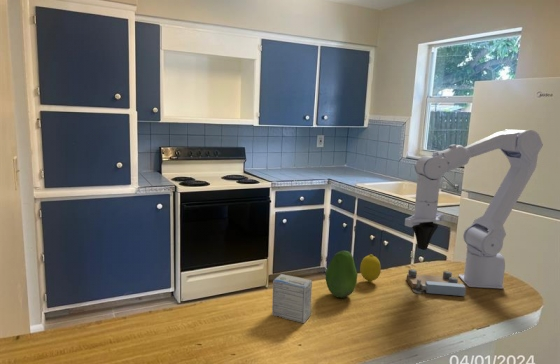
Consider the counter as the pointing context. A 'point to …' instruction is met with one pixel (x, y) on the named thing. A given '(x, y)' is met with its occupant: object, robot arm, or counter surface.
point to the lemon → (370, 268)
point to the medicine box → (292, 298)
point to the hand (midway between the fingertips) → (422, 248)
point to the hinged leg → (444, 288)
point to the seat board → (429, 278)
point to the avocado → (341, 274)
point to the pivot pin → (418, 288)
